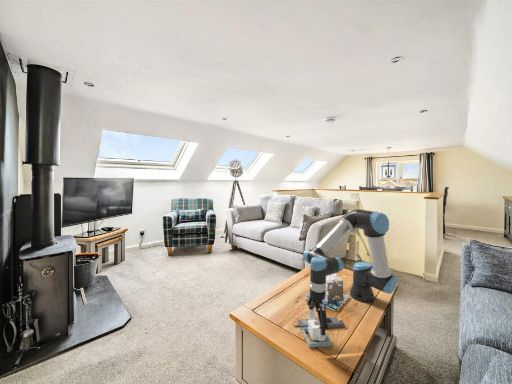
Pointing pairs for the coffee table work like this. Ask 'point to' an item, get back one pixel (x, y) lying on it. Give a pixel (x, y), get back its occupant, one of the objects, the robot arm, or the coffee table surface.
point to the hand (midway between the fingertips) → (316, 330)
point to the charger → (314, 329)
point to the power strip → (330, 321)
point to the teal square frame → (316, 344)
